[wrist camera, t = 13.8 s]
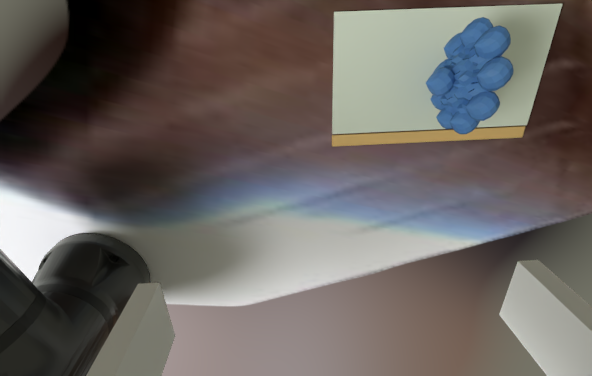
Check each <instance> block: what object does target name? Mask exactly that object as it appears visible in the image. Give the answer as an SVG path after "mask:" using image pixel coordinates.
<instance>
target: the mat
mask: <svg viewBox="0 0 592 376" xmlns="http://www.w3.org/2000/svg"><path fill="white" fill-rule="evenodd" d="M561 8H562V4H537V5H510V6H482V7H454V8H427V9H399V10H372V11H344V12H334V43H333V102H332V134H347V133H368V132H390V131H411V130H432V129H445V128H444V127H442V126H441V125H440V123H439V122H438V120H437V118H436V117H437V115H438V114H439V112H440V111H441V110H438V109H437V108H435V106H434V105H433V104H432V102H431V99H430V98H431V97H432V95H433V94H432V93H431V92H430V91H429V89H428V87H427V85H426V82H427V80H428V79H429V77H430V76H431V75H432V74H433V72H434V70H435V69H436V68H437V67H438V65H439V64H440V63H442V62H443V61H444V60H446V59H448V58H447V56H446V54H445V51H444V47H445V45H446V44H447V43H448V41H449V40H450V39H451V38H452V37H454V36H455V35H456V34H458V33H462V31H463V30H464V29H465V28H466V26H467V25H468V24H470V23H471V22H472V21H473V20H475V19H477V18H481V17H484V18H487V19H489V20H490V21H491V23H492V24H493V27H495V26H499V25H500V26H502V27H505V28H506V29H507V30H508V32H509V33H510V37H511V44H510V45H509V47H508V49H507V50H506V51H505V52H504V53H503V55H502V57H505V58H507V59H509V60H510V62H511V63H512V65H513V70H514V71H513V75H512V77H511V79H510V80H509V81H508V82H507V84H506V85H505V86H503V87H502V88H500V89H498V90H496V91H493V92H495V93H496V95H497V96H498V97H499V101H500V106H499V108H498V110H497V112H496V113H495V114H494V115H493V116H492V117H490V118H488V119H486V120H484V121H480V122H479V124H478V126H477V127H497V126H518V125H527V123H528V120H529V117H530V113H531V110H532V106H533V103H534V100H535V96H536V93H537V89H538V86H539V83H540V79H541V76H542V72H543V69H544V66H545V62H546V59H547V55H548V52H549V49H550V45H551V42H552V38H553V35H554V32H555V28H556V25H557V21H558V18H559V15H560V11H561ZM500 57H501V56H500Z"/></svg>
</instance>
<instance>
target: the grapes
mask: <svg viewBox="0 0 592 376" xmlns="http://www.w3.org/2000/svg"><path fill="white" fill-rule="evenodd" d="M510 44H511V37H510V33H509V32H508V30H507V29H506V28H505V27H502V26H500V25H499V26H495V27H493V24H492V23H491V21H490V20H489V19H487V18H484V17H481V18H477V19H475V20H473V21H472V22H471V23H470V24H468V25H467V26H466V28H465V29H464V30H463V31H462V33H458V34H456V35H455V36H454V37H452V38H451V39H450V40H449V41H448V43H447V44H446V45H445V47H444V51H445V54H446V56H447V58H448V59H446V60H444V61H443V62H442V63H440V64H439V65H438V67H437V68H436V69H435V70H434V72H433V74H432V75H431V76H430V77H429V79H428V80H427V82H426V85H427V87H428V89H429V91H430V92H431V93H432V94H433V95H432V97H431V98H430V99H431V102H432V104H433V105H434V106H435V108H437V109H438V110H441V111H440V112H439V114H438V115H437V117H436V118H437V120H438V122H439V123H440V125H441V126H442V127H444V128H445V129H454V131H455V132H457V133H459V134H468V133H470V132H472V131H473V130H474V129H475V128H476V127H477V126H478V124H479V122H480V121H484V120H486V119H488V118H490V117H492V116H493V115H494V114H495V113H496V112H497V110H498V108H499V106H500V101H499V97H498V96H497V95H496V93H495V92H493V91H496V90H498V89H500V88H502V87H503V86H505V85H506V84H507V82H508V81H509V80H510V79H511V77H512V75H513V71H514V70H513V65H512V63H511V62H510V60H509V59H507V58H505V57H502V55H503V53H504V52H505V51H506V50H507V49H508V47H509V45H510ZM500 56H501V57H500Z"/></svg>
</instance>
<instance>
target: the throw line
mask: <svg viewBox="0 0 592 376" xmlns="http://www.w3.org/2000/svg"><path fill="white" fill-rule="evenodd" d="M524 130H525V126H512V127H491V128H475V129H474V130H473V131H472V132H470V133H468V134H459V133H457V132H455V131H454V129H448V130H426V131H405V132H384V133H362V134H341V135H332V146H352V145H373V144H394V143H415V142H436V141H457V140H478V139H498V138H519V137H523V133H524Z"/></svg>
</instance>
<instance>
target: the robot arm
mask: <svg viewBox="0 0 592 376" xmlns="http://www.w3.org/2000/svg"><path fill="white" fill-rule="evenodd" d="M499 315H500V316H501V318H502V319H503V320H504V321H505V323H506V324H507V325H508V327H509V328H510V329H511V330H512V332H513V333H514V334H515V335H516V337H517V338H518V339H519V341H520V342H521V343H522V344H523V346H524V347H525V348H526V350H527V351H528V352H529V353H530V355H531V356H532V357H533V358H534V360H535V361H536V362H537V363H538V365H539V366H540V367H541V368H542V370H543V371H544V372H545V374H546V375H547V376H592V307H591V306H590V305H589V304H588V303H587V302H586V301H585V300H583V299H582V298H581V297H580V296H579V295H578V294H577V293H575V292H574V291H573V290H572V289H571V288H570V287H568V286H567V285H566V284H565V283H564V282H563V281H562V280H560V279H559V278H558V277H557V276H556V275H555V274H554V273H552V272H551V271H550V270H549V269H548V268H547V267H546V266H544V265H543V264H542V263H541V262H540V261H539V260H529V261H518V262H517V265H516V268H515V271H514V274H513V277H512V280H511V282H510V285H509V289H508V291H507V294H506V297H505V300H504V303H503V306H502V308H501V311H500V314H499ZM174 337H175V333H174V330H173V326H172V323H171V320H170V316H169V313H168V309H167V306H166V302H165V299H164V296H163V292H162V289H161V285H160V283H150V275H149V271H148V268H147V266H146V264H145V262H144V261H143V259H142V258H141V257H140V256H139V254H138V253H137V252H135V251H134V250H133V249H132V248H131V247H129V246H128V245H126V244H124V243H123V242H121V241H119V240H116V239H114V238H111V237H108V236H104V235H99V234H77V235H73V236H70V237H67V238H65V239H63V240H61V241H60V242H58V243H57V244H56V245H55V246H54V247H53V248H52V249H51V250H50V251H49V252H48V253H47V254H46V255H45V256H44V258H43V259H42V261H41V264H40V266H39V270H38V272H37V273H36V275H35V277H34V279H33V281H32V282H31V281H30V280H29V279H28V278H27V277H26V276H25V275H24V274H23V273H22V272H21V271H20V269H19V268H18V267H17V266H16V265H15V264H14V263H13V262H12V261H11V260H10V259H9V258H8V257H7V256H6V255H5V254H4V253H3V251H2V250H1V249H0V376H162V373H163V370H164V367H165V364H166V361H167V358H168V355H169V352H170V349H171V346H172V344H173V341H174Z"/></svg>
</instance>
